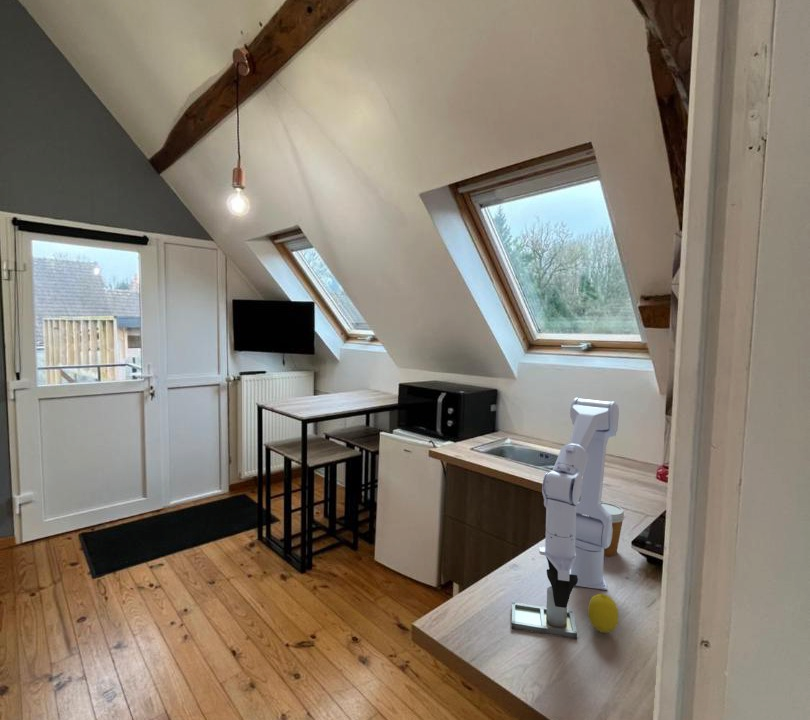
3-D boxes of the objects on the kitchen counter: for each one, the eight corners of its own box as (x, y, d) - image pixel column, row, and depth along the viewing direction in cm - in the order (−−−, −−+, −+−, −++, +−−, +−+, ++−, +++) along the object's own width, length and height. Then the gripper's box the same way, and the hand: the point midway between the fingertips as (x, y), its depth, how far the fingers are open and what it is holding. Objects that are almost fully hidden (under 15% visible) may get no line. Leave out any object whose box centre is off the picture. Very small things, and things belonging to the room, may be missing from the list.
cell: (545, 614, 92) (546, 582, 92) (566, 617, 91) (566, 585, 90) (546, 626, 88) (547, 593, 88) (567, 630, 87) (568, 596, 87)
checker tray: (511, 607, 95) (511, 602, 95) (572, 616, 92) (572, 611, 92) (511, 628, 88) (511, 622, 88) (576, 639, 85) (577, 633, 85)
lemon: (608, 622, 90) (610, 585, 90) (622, 641, 85) (624, 602, 84) (582, 623, 90) (583, 586, 90) (595, 642, 85) (596, 603, 84)
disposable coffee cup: (631, 555, 117) (633, 512, 116) (603, 562, 114) (605, 517, 113) (604, 539, 126) (606, 499, 125) (577, 544, 123) (579, 503, 122)
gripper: (537, 513, 96) (536, 572, 97) (542, 545, 82) (540, 614, 83) (571, 516, 94) (569, 576, 95) (582, 550, 80) (579, 620, 81)
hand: (558, 594), depth 89 cm, fingers open, 7 cm apart
